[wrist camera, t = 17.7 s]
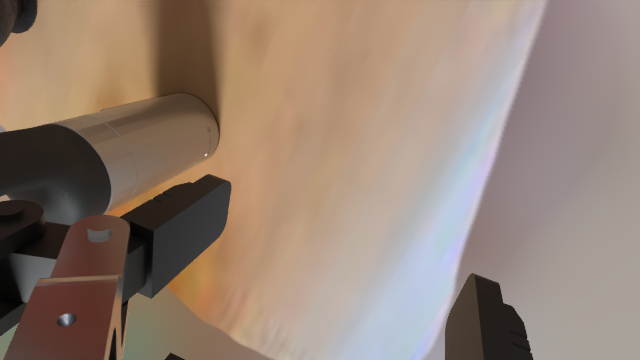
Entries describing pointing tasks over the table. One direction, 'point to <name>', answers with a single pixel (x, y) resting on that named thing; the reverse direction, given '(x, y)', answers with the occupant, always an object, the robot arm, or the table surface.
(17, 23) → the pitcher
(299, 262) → the table surface
